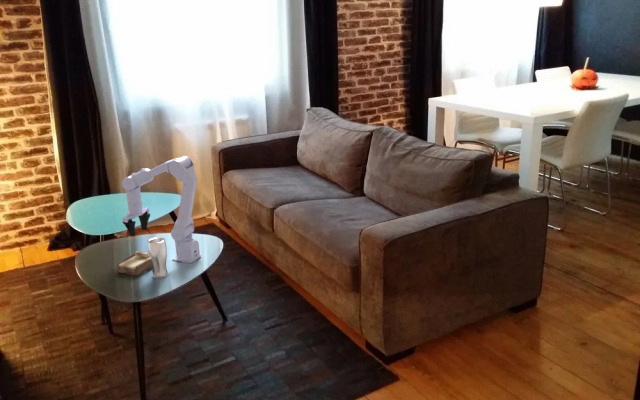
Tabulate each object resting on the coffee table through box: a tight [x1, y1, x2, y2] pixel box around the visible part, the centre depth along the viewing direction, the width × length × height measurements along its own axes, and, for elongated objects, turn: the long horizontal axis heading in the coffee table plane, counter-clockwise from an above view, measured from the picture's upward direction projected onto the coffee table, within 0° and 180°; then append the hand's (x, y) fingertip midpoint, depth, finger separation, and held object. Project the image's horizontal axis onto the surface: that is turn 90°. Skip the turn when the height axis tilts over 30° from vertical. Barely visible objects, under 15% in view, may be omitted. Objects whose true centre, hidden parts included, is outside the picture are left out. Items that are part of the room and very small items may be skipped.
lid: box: [119, 250, 150, 269], centre depth 248 cm, size 8×10×3 cm
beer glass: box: [147, 236, 169, 279], centre depth 241 cm, size 7×7×15 cm
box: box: [117, 253, 153, 277], centre depth 249 cm, size 10×11×4 cm
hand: (138, 232), depth 262 cm, fingers open, 7 cm apart
